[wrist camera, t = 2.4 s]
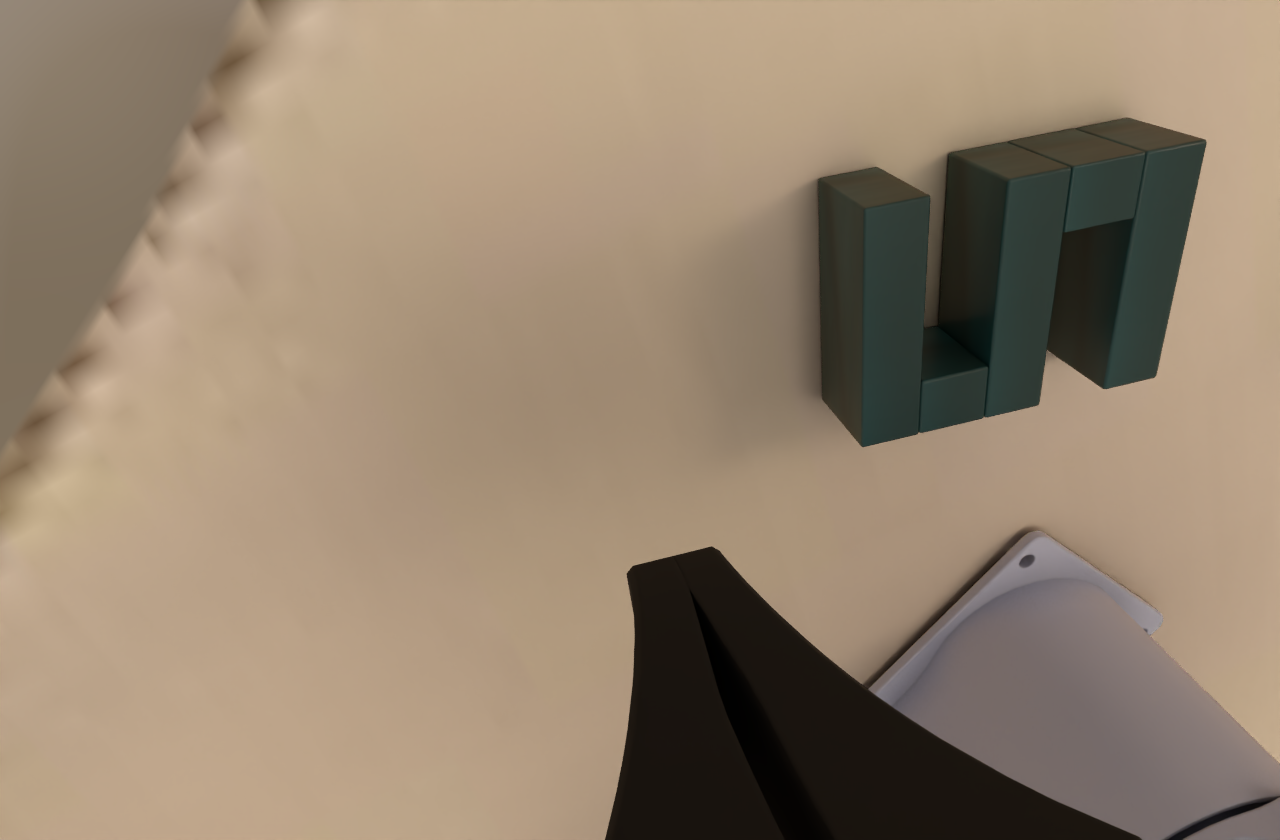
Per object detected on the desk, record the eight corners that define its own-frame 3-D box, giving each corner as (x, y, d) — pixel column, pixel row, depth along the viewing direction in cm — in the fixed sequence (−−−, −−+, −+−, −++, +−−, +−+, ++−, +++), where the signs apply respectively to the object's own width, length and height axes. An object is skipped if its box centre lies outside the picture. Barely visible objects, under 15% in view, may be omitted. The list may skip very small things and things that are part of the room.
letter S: (821, 400, 23) (861, 448, 21) (817, 177, 20) (864, 208, 18) (1092, 337, 24) (1157, 378, 22) (1129, 116, 21) (1209, 139, 19)
